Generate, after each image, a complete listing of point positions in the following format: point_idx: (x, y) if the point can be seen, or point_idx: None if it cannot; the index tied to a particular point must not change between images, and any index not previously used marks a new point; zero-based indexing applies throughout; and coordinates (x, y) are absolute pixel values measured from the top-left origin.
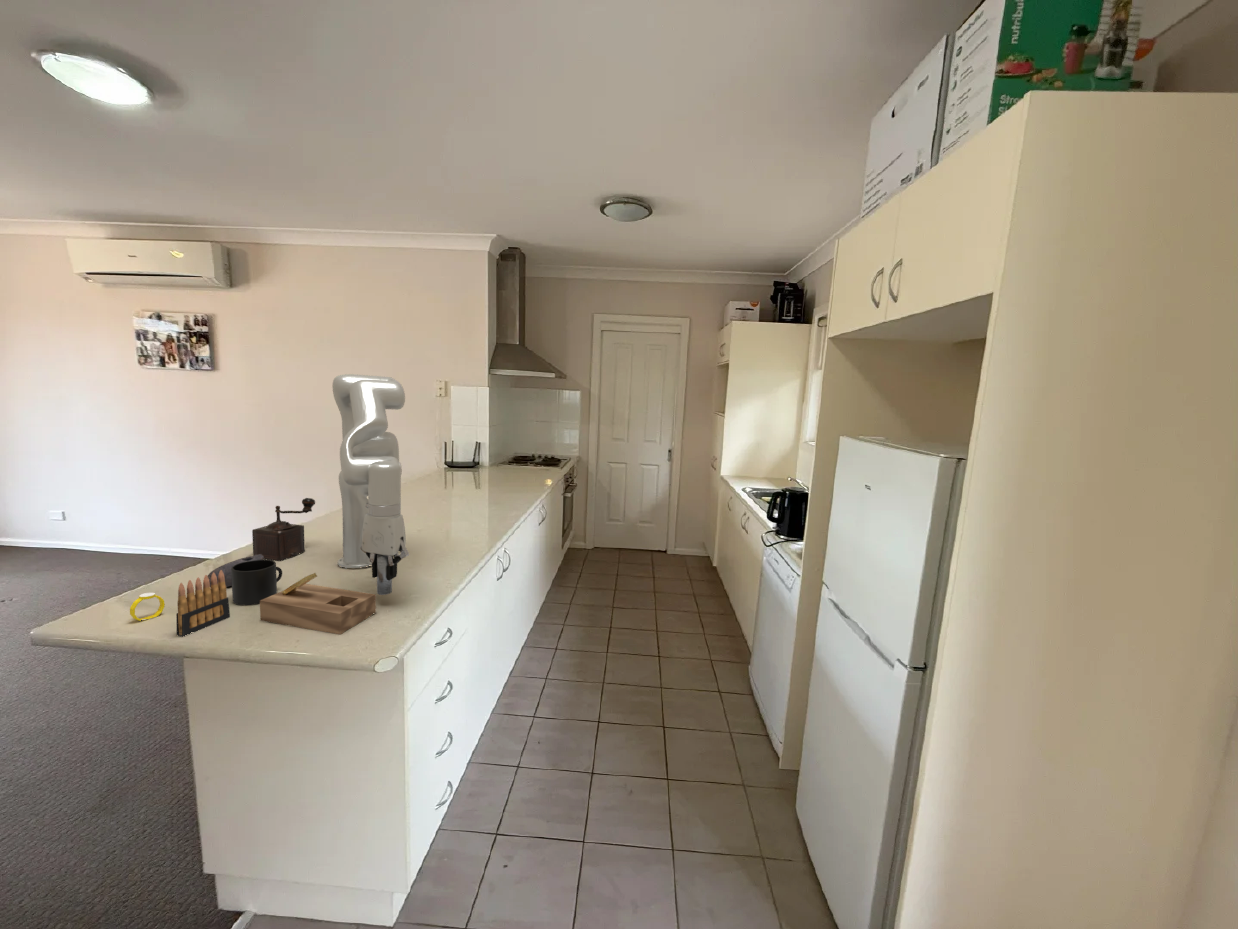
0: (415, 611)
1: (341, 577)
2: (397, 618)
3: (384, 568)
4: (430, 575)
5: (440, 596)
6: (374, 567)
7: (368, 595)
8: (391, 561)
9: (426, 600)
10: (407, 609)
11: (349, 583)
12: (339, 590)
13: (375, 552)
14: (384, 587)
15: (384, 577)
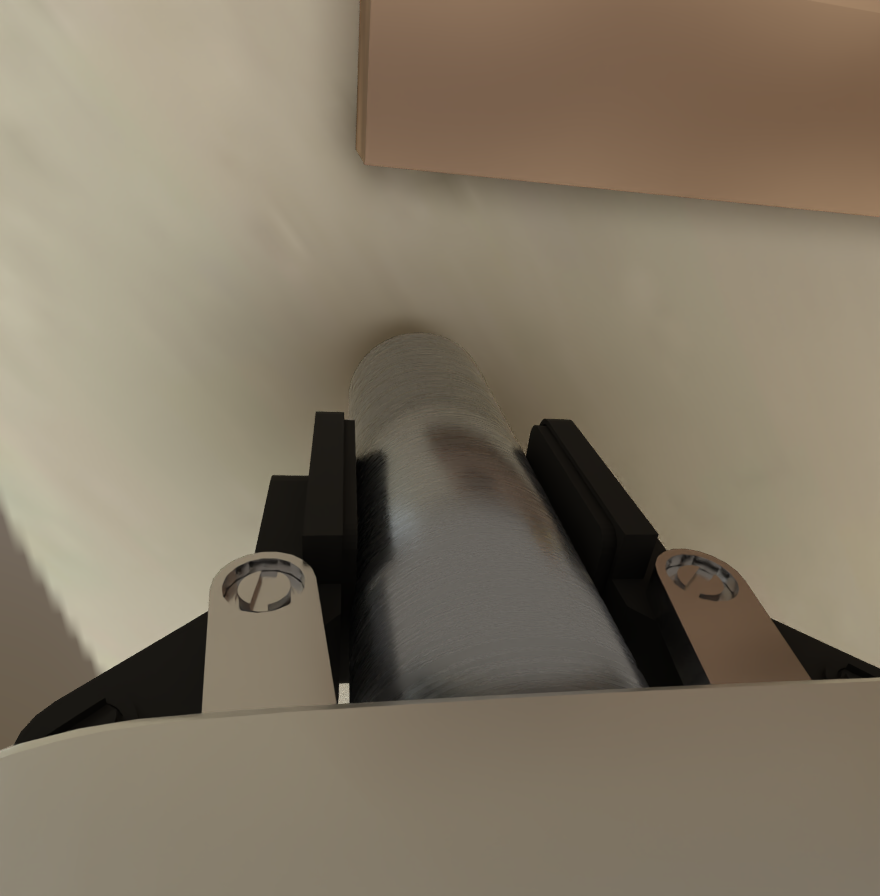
0: (35, 289)
1: (863, 605)
2: (66, 83)
3: (404, 507)
4: None
5: (85, 586)
6: (590, 498)
7: (430, 102)
8: (234, 625)
9: (129, 501)
10: (140, 308)
11: (793, 558)
12: (829, 167)
13: (696, 710)
14: (384, 374)
15: (390, 428)
